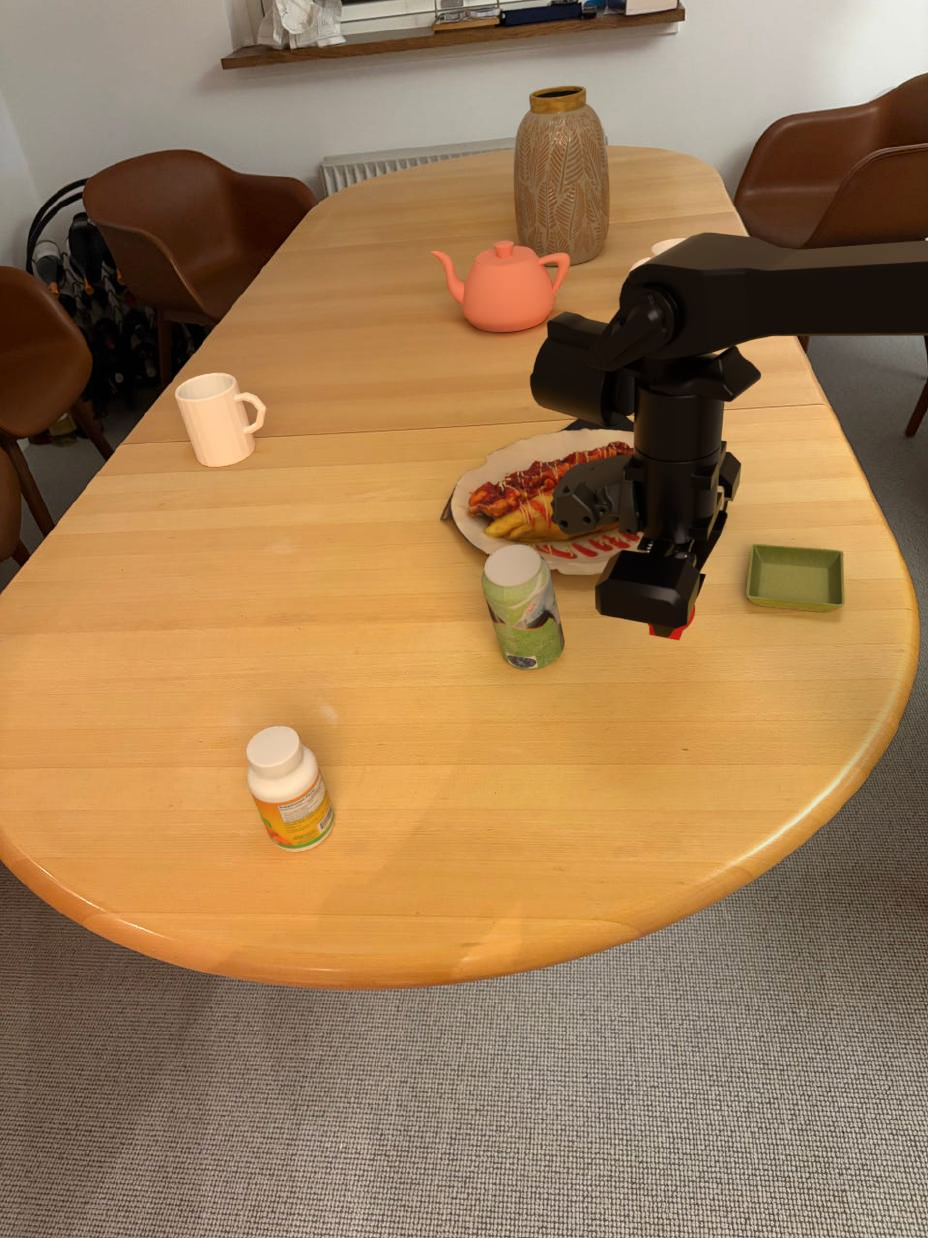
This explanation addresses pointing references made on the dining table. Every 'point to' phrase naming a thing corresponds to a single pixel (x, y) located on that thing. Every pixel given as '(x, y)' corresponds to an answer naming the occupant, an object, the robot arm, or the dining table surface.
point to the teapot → (506, 287)
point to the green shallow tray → (796, 578)
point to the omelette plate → (541, 497)
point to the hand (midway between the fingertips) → (669, 618)
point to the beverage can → (523, 607)
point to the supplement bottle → (288, 789)
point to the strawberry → (677, 632)
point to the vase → (561, 176)
